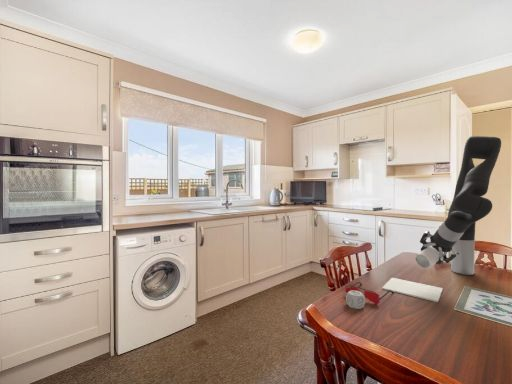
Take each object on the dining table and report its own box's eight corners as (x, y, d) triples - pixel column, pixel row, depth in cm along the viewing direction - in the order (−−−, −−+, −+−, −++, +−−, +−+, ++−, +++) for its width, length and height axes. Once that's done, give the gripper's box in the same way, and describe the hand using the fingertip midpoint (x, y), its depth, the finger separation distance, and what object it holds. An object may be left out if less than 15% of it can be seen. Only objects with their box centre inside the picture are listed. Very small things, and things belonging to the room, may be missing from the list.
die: (356, 302, 100) (356, 289, 99) (365, 307, 95) (365, 294, 95) (345, 304, 98) (345, 291, 98) (354, 310, 93) (354, 296, 93)
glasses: (344, 296, 106) (344, 284, 106) (361, 285, 117) (361, 274, 117) (379, 307, 96) (379, 294, 96) (394, 294, 107) (394, 282, 107)
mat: (391, 278, 124) (391, 277, 123) (442, 289, 110) (442, 288, 110) (382, 289, 112) (382, 287, 112) (437, 302, 98) (437, 300, 98)
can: (424, 253, 107) (441, 241, 111) (411, 255, 113) (428, 243, 117) (433, 267, 105) (450, 255, 110) (420, 268, 111) (437, 256, 116)
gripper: (472, 242, 99) (451, 265, 110) (437, 218, 108) (420, 241, 119) (461, 250, 96) (440, 273, 107) (426, 225, 105) (410, 248, 116)
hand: (430, 256), depth 113 cm, fingers closed on can, 6 cm apart
